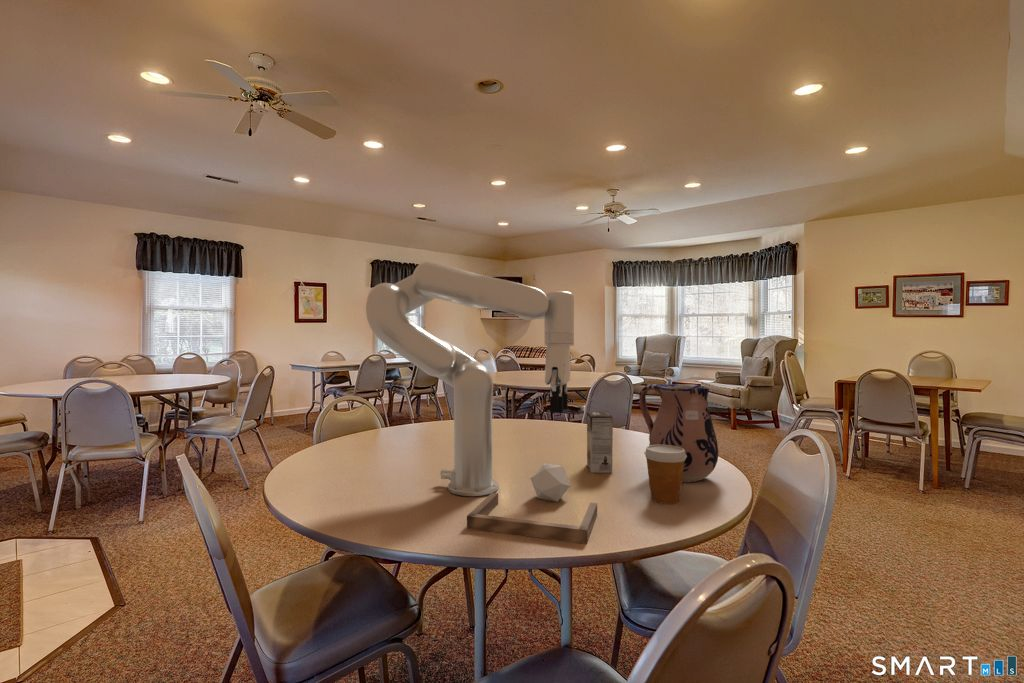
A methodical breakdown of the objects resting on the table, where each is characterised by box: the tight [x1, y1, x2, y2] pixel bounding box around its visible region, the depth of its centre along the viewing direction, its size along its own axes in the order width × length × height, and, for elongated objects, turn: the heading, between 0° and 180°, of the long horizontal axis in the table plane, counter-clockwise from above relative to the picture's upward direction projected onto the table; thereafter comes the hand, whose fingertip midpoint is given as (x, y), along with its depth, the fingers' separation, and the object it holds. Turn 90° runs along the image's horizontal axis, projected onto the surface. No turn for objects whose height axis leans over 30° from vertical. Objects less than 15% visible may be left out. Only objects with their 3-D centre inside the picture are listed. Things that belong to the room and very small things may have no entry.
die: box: [530, 462, 571, 503], centre depth 115 cm, size 8×9×10 cm
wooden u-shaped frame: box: [466, 492, 598, 545], centre depth 101 cm, size 24×15×2 cm, turn 73°
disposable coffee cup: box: [644, 445, 687, 505], centre depth 114 cm, size 10×10×12 cm
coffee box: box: [586, 410, 614, 474], centre depth 140 cm, size 9×6×16 cm
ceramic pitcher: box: [638, 383, 719, 483], centre depth 132 cm, size 18×21×25 cm
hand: (559, 409), depth 124 cm, fingers open, 5 cm apart
